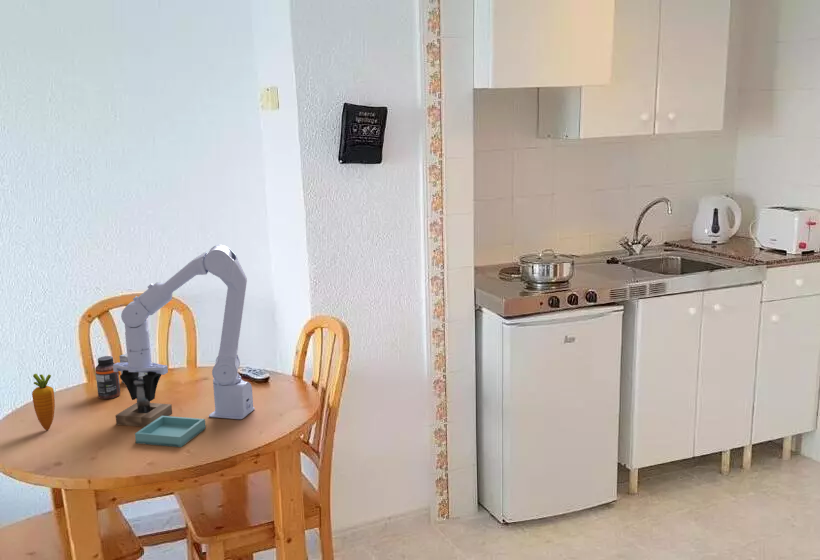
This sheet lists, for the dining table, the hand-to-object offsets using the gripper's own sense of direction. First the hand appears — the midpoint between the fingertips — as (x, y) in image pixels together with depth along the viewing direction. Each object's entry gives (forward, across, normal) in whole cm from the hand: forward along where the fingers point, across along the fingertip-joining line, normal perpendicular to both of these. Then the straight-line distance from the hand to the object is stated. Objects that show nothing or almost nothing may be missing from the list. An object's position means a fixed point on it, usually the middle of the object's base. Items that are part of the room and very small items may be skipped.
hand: (143, 399), depth 207 cm
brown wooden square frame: (+5, 0, 0) cm, 5 cm away
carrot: (+6, -20, -12) cm, 24 cm away
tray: (+5, +13, -9) cm, 17 cm away
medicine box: (+6, -20, +28) cm, 35 cm away
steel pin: (+3, 0, 0) cm, 3 cm away
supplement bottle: (+6, -20, +14) cm, 25 cm away
